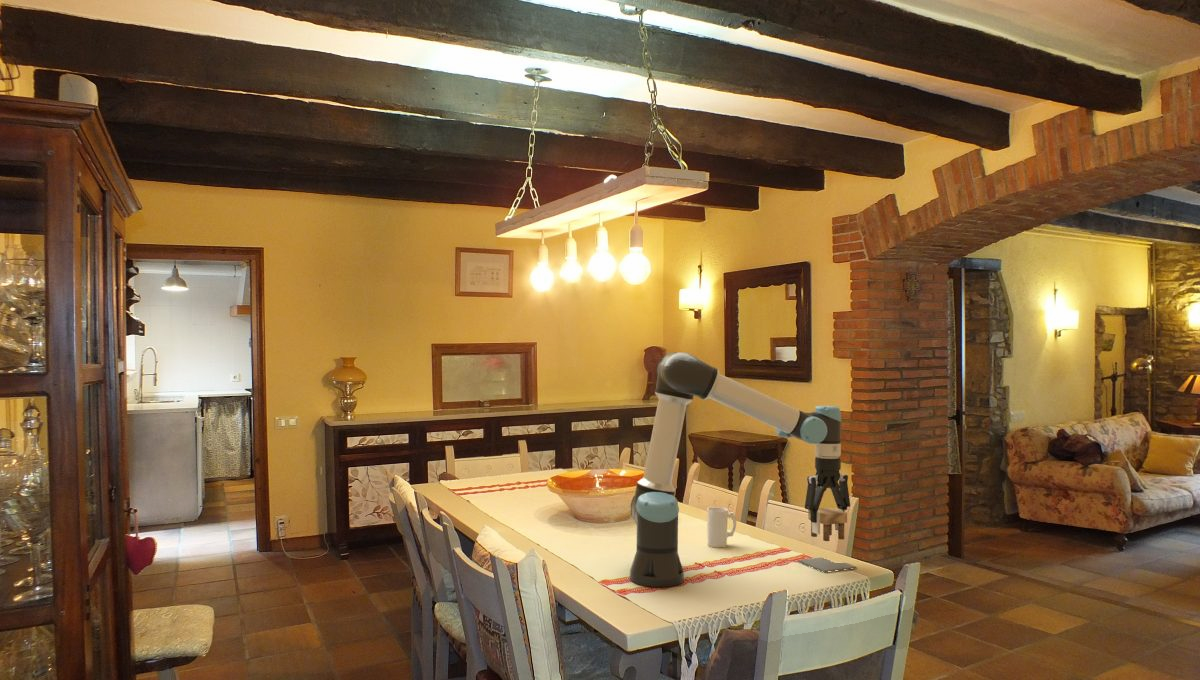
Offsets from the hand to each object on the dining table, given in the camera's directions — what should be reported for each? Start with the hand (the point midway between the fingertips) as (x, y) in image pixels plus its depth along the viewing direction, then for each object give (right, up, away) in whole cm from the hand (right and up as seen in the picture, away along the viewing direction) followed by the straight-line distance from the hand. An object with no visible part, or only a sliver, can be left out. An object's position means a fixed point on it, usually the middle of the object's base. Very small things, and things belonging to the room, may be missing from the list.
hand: (827, 531), depth 231 cm
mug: (-29, -10, +22) cm, 38 cm away
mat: (0, -10, 0) cm, 10 cm away
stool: (0, -2, 0) cm, 2 cm away
